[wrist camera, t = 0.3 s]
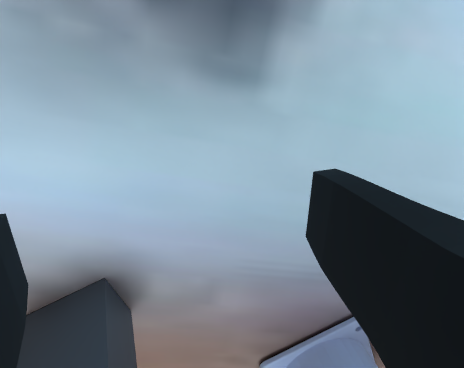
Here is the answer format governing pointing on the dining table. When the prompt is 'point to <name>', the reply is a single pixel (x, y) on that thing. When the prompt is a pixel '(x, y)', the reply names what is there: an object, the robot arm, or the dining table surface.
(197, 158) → the dining table surface
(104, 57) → the dining table surface
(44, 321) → the dark grey upright block
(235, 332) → the dining table surface
